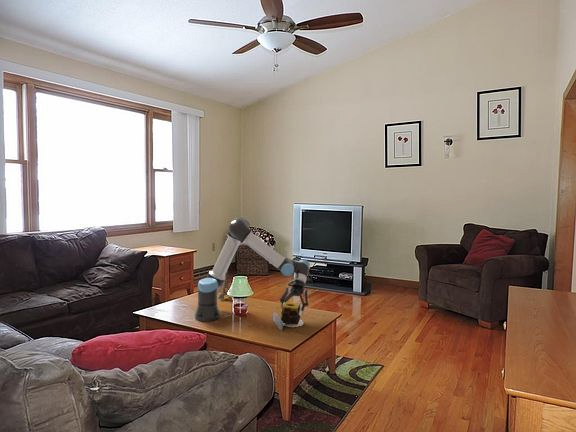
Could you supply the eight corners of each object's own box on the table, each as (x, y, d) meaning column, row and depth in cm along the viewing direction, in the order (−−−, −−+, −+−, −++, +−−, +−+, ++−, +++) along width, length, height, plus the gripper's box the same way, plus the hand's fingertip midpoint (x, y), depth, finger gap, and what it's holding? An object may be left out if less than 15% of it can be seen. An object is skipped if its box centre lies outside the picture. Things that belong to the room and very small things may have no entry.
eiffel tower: (219, 301, 280) (220, 266, 279) (217, 297, 290) (217, 263, 288) (234, 300, 284) (235, 266, 282) (231, 296, 294) (232, 263, 292)
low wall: (280, 330, 227) (280, 322, 227) (273, 320, 244) (273, 312, 244) (282, 330, 227) (282, 321, 227) (275, 320, 245) (275, 312, 244)
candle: (297, 325, 231) (298, 308, 230) (280, 323, 233) (281, 306, 232) (300, 319, 241) (301, 303, 240) (284, 317, 243) (284, 301, 242)
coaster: (283, 327, 232) (283, 326, 232) (277, 319, 245) (277, 318, 245) (306, 326, 235) (306, 325, 235) (299, 318, 249) (299, 317, 249)
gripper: (318, 287, 250) (310, 319, 236) (283, 283, 257) (274, 314, 244) (316, 281, 244) (308, 313, 231) (280, 277, 252) (271, 308, 238)
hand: (290, 314), depth 237 cm, fingers closed on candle, 10 cm apart
